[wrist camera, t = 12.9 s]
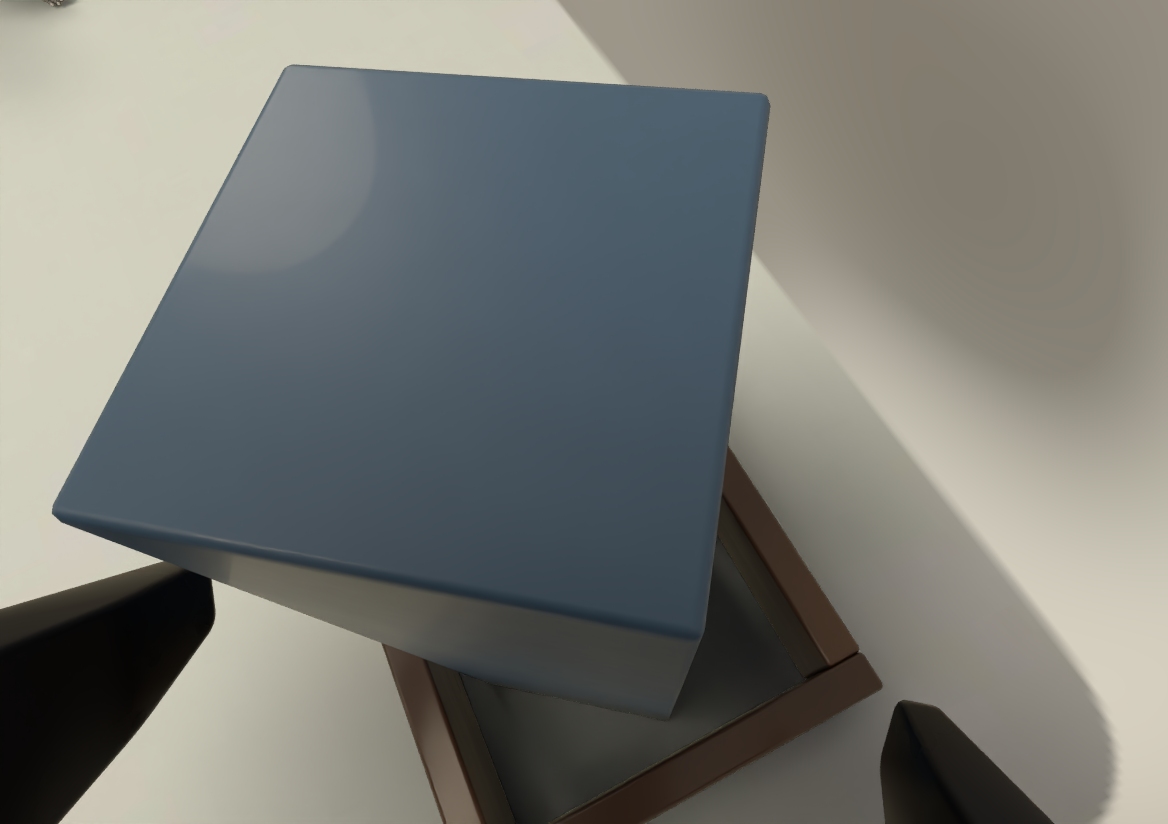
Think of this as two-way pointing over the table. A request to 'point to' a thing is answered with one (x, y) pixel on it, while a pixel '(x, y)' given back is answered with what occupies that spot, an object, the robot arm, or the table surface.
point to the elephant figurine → (54, 2)
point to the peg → (454, 373)
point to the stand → (620, 813)
